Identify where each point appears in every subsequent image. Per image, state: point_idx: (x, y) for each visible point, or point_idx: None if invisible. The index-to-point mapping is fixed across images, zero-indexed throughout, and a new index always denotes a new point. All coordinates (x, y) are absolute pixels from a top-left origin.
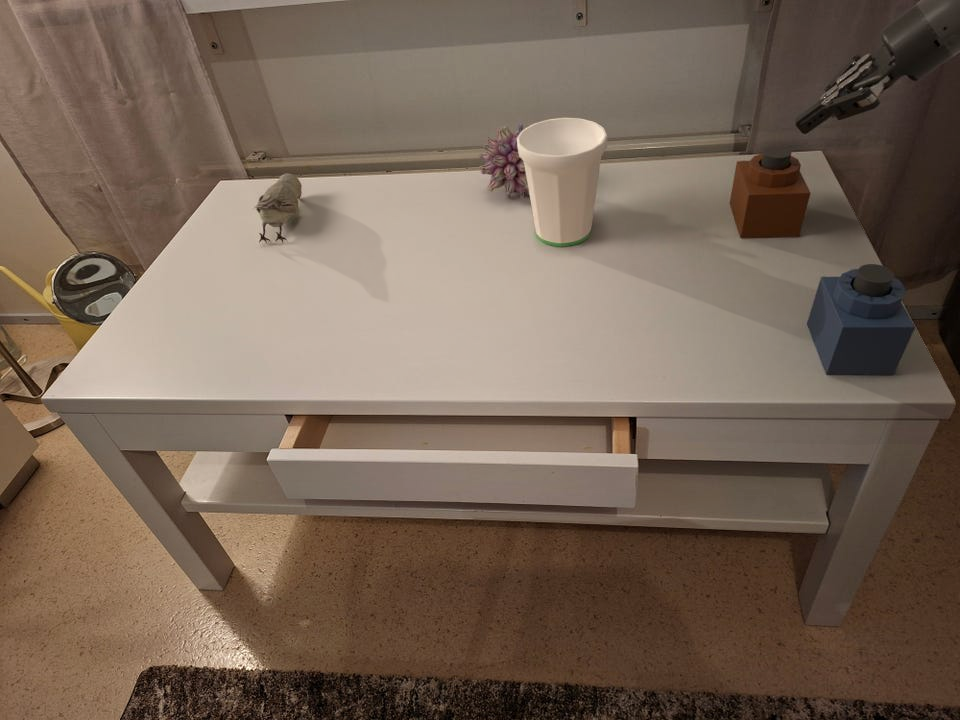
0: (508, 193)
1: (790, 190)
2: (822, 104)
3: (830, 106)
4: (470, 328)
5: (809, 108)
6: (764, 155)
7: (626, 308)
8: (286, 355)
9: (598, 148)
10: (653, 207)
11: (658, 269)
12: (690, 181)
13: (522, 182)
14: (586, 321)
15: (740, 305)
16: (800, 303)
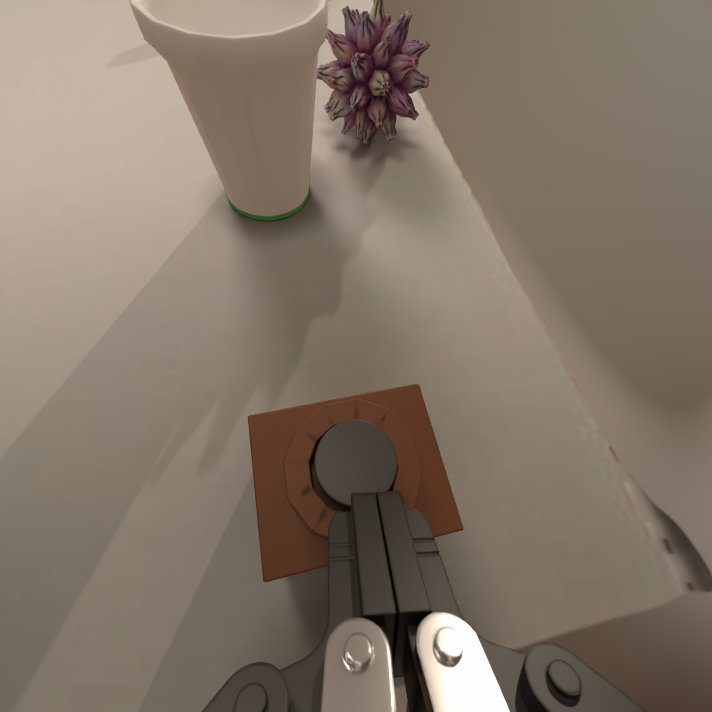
0: (325, 107)
1: (274, 521)
2: (336, 628)
3: (219, 697)
4: (39, 135)
5: (407, 548)
6: (337, 425)
7: (56, 284)
8: (19, 21)
9: (175, 37)
10: (358, 293)
11: (163, 316)
12: (463, 342)
13: (333, 104)
14: (31, 241)
15: (38, 450)
16: (26, 568)
